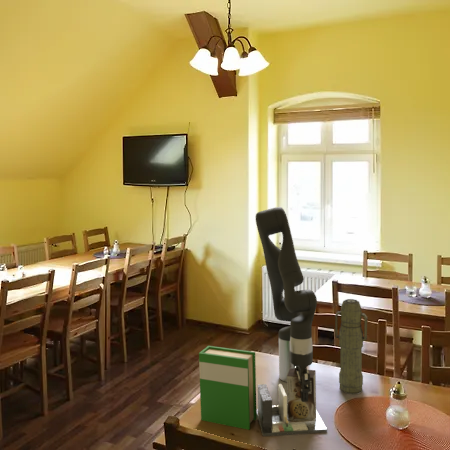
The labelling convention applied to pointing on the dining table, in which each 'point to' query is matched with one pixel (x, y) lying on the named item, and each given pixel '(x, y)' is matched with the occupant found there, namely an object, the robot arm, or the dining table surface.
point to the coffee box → (295, 405)
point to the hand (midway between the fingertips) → (301, 395)
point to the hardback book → (228, 386)
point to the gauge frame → (273, 422)
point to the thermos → (351, 346)
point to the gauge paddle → (282, 403)
